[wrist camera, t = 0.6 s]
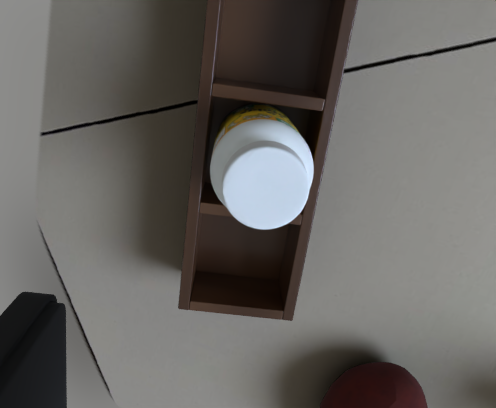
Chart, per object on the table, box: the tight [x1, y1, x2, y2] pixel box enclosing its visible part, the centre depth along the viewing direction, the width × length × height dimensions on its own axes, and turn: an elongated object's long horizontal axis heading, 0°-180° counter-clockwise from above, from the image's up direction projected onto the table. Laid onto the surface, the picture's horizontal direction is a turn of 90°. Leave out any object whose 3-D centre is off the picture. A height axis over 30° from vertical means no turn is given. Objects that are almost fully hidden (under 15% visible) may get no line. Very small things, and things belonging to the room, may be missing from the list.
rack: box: [178, 0, 358, 321], centre depth 27 cm, size 8×21×5 cm, turn 172°
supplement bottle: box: [210, 103, 314, 230], centre depth 24 cm, size 5×5×10 cm
